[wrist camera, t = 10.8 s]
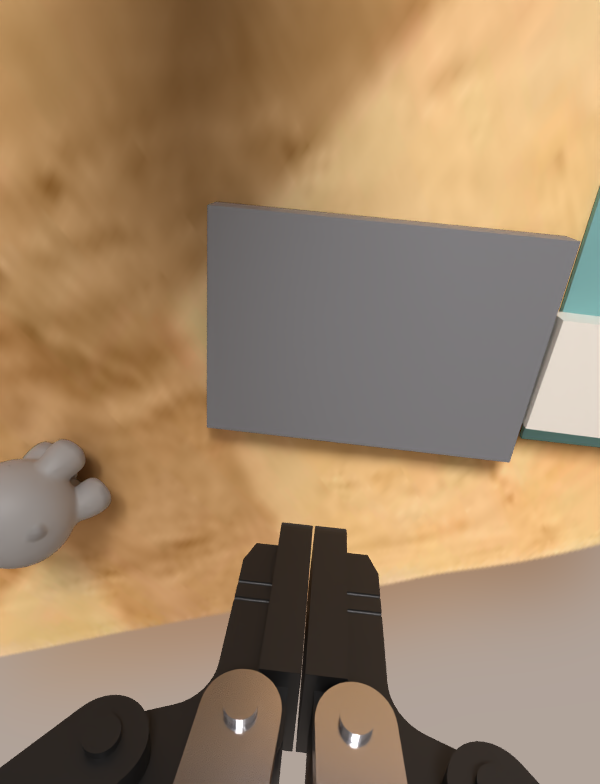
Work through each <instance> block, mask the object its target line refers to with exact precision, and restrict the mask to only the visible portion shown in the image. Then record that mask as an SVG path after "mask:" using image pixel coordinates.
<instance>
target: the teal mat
mask: <svg viewBox="0 0 600 784" xmlns="http://www.w3.org/2000/svg"><path fill="white" fill-rule="evenodd" d="M560 312H567V313H575V314H583V315H591V316H600V188H599V191H598V194H597V197H596V200H595V203H594V206H593V209H592V213H591V216H590V219H589V222H588V225H587V228H586V231H585V234H584V237H583V240H582V243H581V247H580V250H579V253H578V256H577V259H576V262H575V265H574V268H573V271H572V274H571V277H570V281H569V284H568V287H567V290H566V293H565V296H564V299H563V302H562V305H561V308H560ZM519 436H520V437H521V438H522V439H531V440H540V441H548V442H557V443H566V444H575V445H583V446H592V447H600V438H595V437H587V436H579V435H572V434H564V433H556V432H548V431H541V430H533V429H526V428H525V427H524V425H523V426H522V429H521V432H520V435H519Z"/></svg>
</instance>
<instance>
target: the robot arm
mask: <svg viewBox="0 0 600 784" xmlns="http://www.w3.org/2000/svg"><path fill="white" fill-rule="evenodd" d="M312 529H313V526H310V525H301V524H292V523H282V525H281V531H280V538H279V544H278V545H269V544H260V543H256V545H255V546H254V547H253V548H252V550H251V551H250V552H249V553H248V554H247V556H246V557H245V558H244V559H243V564H242V568H241V572H240V576H239V582H238V585H237V589H236V593H235V599H234V602H233V606H232V610H231V614H230V618H229V623H228V627H227V631H226V636H225V639H224V644H223V648H222V652H221V656H220V660H219V664H218V668H217V670H216V673H215V674H214V676H213V678H212V679H211V681H210V682H209V683H208V685H207V686H206V687H205V688H204V689H203V690H201V691H200V692H199V693H198V694H196V695H195V696H193V697H192V698H190V699H188V700H186V701H184V702H181V703H178V704H174V705H170V706H165V707H161V708H156V709H152V710H147V711H144V709H143V708H142V706H141V705H140V704H139V703H138V702H136V701H135V700H133V699H131V698H129V697H126V696H121V695H109V696H104V697H100V698H97V699H95V700H93V701H91V702H89V703H87V704H86V705H84V706H83V707H81V708H80V709H78V710H77V711H76V712H74V713H73V714H72V715H70V716H69V717H68V718H66V719H65V720H64V721H62V722H61V723H60V724H58V725H57V726H56V727H54V728H53V729H52V730H50V731H49V732H47V733H46V734H45V735H43V736H42V737H41V738H39V739H38V740H37V741H35V742H34V743H33V744H31V745H30V746H29V747H27V748H26V749H25V750H23V751H22V752H21V753H19V754H18V755H17V756H15V757H14V758H13V759H11V760H10V761H9V762H7V763H6V764H5V765H3V766H2V767H1V768H0V784H279V777H280V766H281V756H282V750H285V751H292V749H293V740H294V731H295V723H296V714H297V705H298V696H299V688H300V680H301V690H300V703H299V717H298V729H297V742H296V752H303V753H307V759H306V775H305V784H539V783H538V782H537V781H536V780H535V778H534V777H533V776H532V775H531V774H530V773H529V772H528V771H527V770H526V769H525V768H524V766H523V765H522V764H521V763H520V762H519V761H518V760H517V759H515V757H513V756H512V755H511V754H510V753H508V752H507V751H505V750H504V749H502V748H500V747H498V746H496V745H493V744H490V743H486V742H478V741H476V742H469V743H467V744H464V745H462V746H461V747H459V748H458V749H457V750H456V749H454V748H451V747H449V746H447V745H445V744H443V743H441V742H439V741H437V740H435V739H433V738H431V737H429V736H427V735H425V734H423V733H421V732H420V731H418V730H416V729H415V728H414V727H412V726H411V725H410V724H409V723H408V722H407V721H406V720H405V719H404V718H403V717H402V716H401V714H400V713H399V712H398V710H397V709H396V707H395V705H394V703H393V702H392V699H391V697H390V694H389V690H388V684H387V675H386V674H387V673H386V661H385V649H384V637H383V625H382V617H381V601H380V588H379V576H378V573H377V571H376V569H375V567H374V566H373V564H372V562H371V560H370V559H369V557H368V555H361V554H352V553H347V532H346V529H339V528H330V527H320V526H315V533H314V541H313V550H312V559H311V568H310V577H309V567H310V555H311V542H312ZM308 580H309V588H308ZM307 593H308V599H307ZM306 606H307V612H306ZM305 619H306V626H305ZM304 631H305V638H304ZM303 644H304V651H303ZM302 657H303V664H302ZM301 670H302V677H301Z"/></svg>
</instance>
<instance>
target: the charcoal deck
mask: <svg viewBox="0 0 600 784" xmlns="http://www.w3.org/2000/svg"><path fill="white" fill-rule="evenodd" d="M579 245H580V241H577V240H575V239H572V238H569V237H567V236H560V235H550V234H539V233H529V232H519V231H509V230H499V229H488V228H478V227H468V226H458V225H448V224H438V223H427V222H417V221H407V220H397V219H387V218H377V217H366V216H356V215H346V214H336V213H326V212H316V211H305V210H295V209H285V208H275V207H265V206H255V205H244V204H234V203H224V202H214V203H211V204H208V205H207V427H208V428H216V429H225V430H234V431H242V432H251V433H260V434H268V435H277V436H286V437H294V438H303V439H311V440H320V441H329V442H337V443H346V444H355V445H363V446H372V447H381V448H389V449H398V450H407V451H415V452H424V453H432V454H441V455H450V456H458V457H467V458H476V459H484V460H493V461H502V462H510V459H511V456H512V453H513V450H514V446H515V443H516V440H517V437H518V434H519V431H520V428H521V425H522V422H523V419H524V415H525V412H526V409H527V406H528V403H529V400H530V397H531V394H532V391H533V388H534V384H535V381H536V378H537V375H538V372H539V369H540V366H541V363H542V360H543V356H544V353H545V350H546V347H547V344H548V341H549V338H550V335H551V332H552V329H553V325H554V322H555V319H556V316H557V313H558V310H559V307H560V304H561V301H562V297H563V294H564V291H565V288H566V285H567V282H568V279H569V276H570V273H571V270H572V266H573V263H574V260H575V257H576V254H577V251H578V248H579Z"/></svg>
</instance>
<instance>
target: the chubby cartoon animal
mask: <svg viewBox="0 0 600 784" xmlns="http://www.w3.org/2000/svg"><path fill="white" fill-rule="evenodd" d="M85 461H86V459H85V455H84V452H83V450H82V449H81V448H80V447H79V446H78V445H77V444H75V443H73V442H72V441H69V440H66V439H61V440H58V441H56V442H55V443H54V444H51V443H49V442H41V443H39V444H37V445H36V446H34V447H33V448H32V449H31V450H30V451H29V452H28V453H27V454H26V455H25V456H24V457H23V459H14V460H8V461H4V462H1V463H0V568H4V569H15V568H22V567H27V566H30V565H33V564H36V563H38V562H40V561H42V560H44V559H46V558H48V557H49V556H51V555H52V554H53V553H55V552H56V551H57V550H58V549H59V548H60V547H61V546H62V545H63V544H64V543H65V541H66V540H67V539H68V537H69V536H70V534H71V532H72V530H73V528H74V526H75V525H76V524H77V523H78V522H80V521H82V520H85V519H88V518H91V517H93V516H95V515H97V514H99V513H101V512H102V511H104V510H105V509H106V508H107V507H108V506H109V505H110V503H111V494H110V491H109V490H108V488H107V487H106V486H105V484H104V483H103V482H101V481H100V480H99V479H97V478H93V477H92V478H88V479H86V480H84V481H83V482H80V481H78V480H77V479H76V478H77V472H79V471H80V470H81V469H82V468H83V466H84V464H85Z"/></svg>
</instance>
